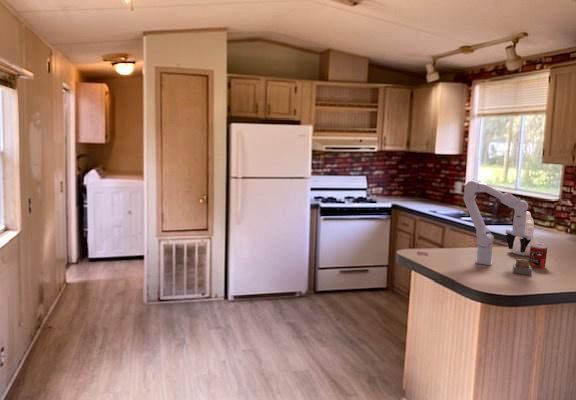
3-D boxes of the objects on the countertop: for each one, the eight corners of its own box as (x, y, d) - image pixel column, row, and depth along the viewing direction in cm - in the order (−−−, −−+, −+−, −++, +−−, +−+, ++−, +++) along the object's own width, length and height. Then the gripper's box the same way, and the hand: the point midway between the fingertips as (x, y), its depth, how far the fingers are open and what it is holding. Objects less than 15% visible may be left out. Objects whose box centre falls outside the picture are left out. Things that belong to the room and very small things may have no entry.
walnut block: (515, 270, 256) (516, 259, 256) (522, 270, 257) (524, 259, 256) (519, 272, 253) (521, 261, 252) (527, 273, 253) (528, 261, 252)
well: (512, 269, 260) (513, 263, 260) (529, 271, 257) (530, 265, 257) (513, 273, 253) (513, 267, 252) (530, 275, 250) (531, 269, 249)
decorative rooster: (508, 249, 308) (512, 208, 304) (537, 253, 300) (542, 211, 297) (504, 257, 286) (509, 213, 282) (535, 262, 278) (540, 216, 275)
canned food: (525, 265, 270) (527, 244, 269) (536, 264, 274) (538, 244, 272) (537, 269, 263) (539, 248, 262) (548, 267, 267) (550, 247, 265)
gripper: (502, 221, 264) (499, 247, 266) (525, 227, 251) (522, 254, 253) (512, 221, 267) (509, 247, 269) (535, 226, 254) (532, 253, 256)
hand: (516, 250), depth 261 cm, fingers open, 7 cm apart
